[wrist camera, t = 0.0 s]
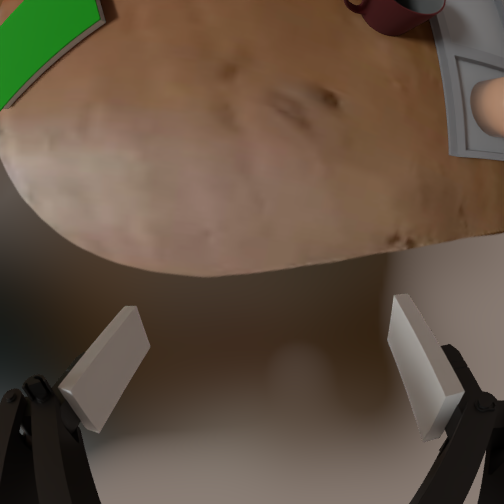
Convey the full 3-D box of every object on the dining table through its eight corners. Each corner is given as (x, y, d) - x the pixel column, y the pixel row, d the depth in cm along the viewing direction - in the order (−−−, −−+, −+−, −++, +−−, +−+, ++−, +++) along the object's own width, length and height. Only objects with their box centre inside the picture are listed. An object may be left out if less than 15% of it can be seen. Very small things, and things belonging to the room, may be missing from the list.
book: (109, 23, 32) (100, 18, 29) (9, 110, 39) (-1, 111, 36) (91, -46, 25) (83, -51, 23) (0, 36, 32) (-9, 35, 29)
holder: (412, -32, 23) (417, -39, 20) (494, -5, 20) (502, -9, 17) (449, 155, 34) (458, 156, 31) (525, 162, 31) (535, 164, 29)
